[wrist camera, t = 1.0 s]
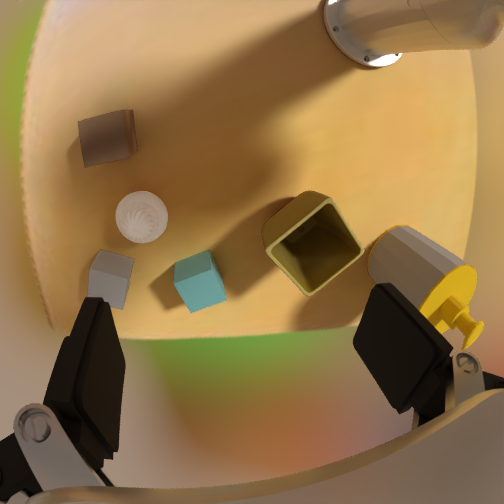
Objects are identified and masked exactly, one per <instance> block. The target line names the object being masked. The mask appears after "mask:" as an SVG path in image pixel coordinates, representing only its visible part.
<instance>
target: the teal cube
mask: <svg viewBox="0 0 504 504" xmlns="http://www.w3.org/2000/svg"><path fill="white" fill-rule="evenodd" d="M173 284H174V286H175V288H176V289H177V291H178V293H179V294H180V296H181V298H182V299H183V301H184V303H185V304H186V306H187V308H188V309H189V311H190V312H191V313H192V312H195V311H198V310H201V309H204V308H206V307H209V306H212V305H215V304H217V303H220V302H223V301H226V300H227V299H226V294H225V288H224V283H223V278H222V276H221V274H220V272H219V270H218V268H217V266H216V263H215V261H214V259H213V257H212V255H211V253H210V250H207V251H204V252H202V253H199V254H197V255H194V256H191V257H189V258H186V259H184V260H181V261H179V262H176V263H175V268H174V282H173Z"/></svg>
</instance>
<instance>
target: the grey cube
mask: <svg viewBox="0 0 504 504" xmlns="http://www.w3.org/2000/svg"><path fill="white" fill-rule="evenodd" d="M133 262H134V258H130V257H126V256H122V255H119V254H115V253H111V252H108V251H104V250H101V249H100V250H99V252H98V254H97V256H96V258H95V259H94V261H93V263H92V265H91V267H90V270H89V282H88V297H102V298H103V299H104V302H109V304H110V307H114V308H117V309H121V310H123V307H124V303H125V299H126V296H127V292H128V288H129V283H130V277H131V272H132V267H133Z"/></svg>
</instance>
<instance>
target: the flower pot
mask: <svg viewBox="0 0 504 504" xmlns="http://www.w3.org/2000/svg"><path fill="white" fill-rule="evenodd" d="M300 228H303V230H302V231H299V229H300ZM262 238H263V243H264V248H265V252H266V254H267V255H268V256H269V257H270V258H271V259H272V261H273V262H274V263H275V264H276V265H277V266H278V267H279V268H280V269H281V270H282V271H283V272H284V273H285V274H286V275H287V276H288V277H289V278H290V279H291V280H292V281H293V283H294V284H295V285H296V286H297V287H298V288H299V289H300V290H301V291H302V292H303V294H305V295H306V296H308V297H309V296H311V295H313V294H314V293H316V292H317V291H318V290H320V289H321V288H322V287H323V286H325V285H326V284H327V283H328V282H330V281H331V280H332V279H333V278H334V277H336V276H337V275H338V274H339V273H341V272H342V271H343V270H344V269H346V268H347V267H348V266H350V265H351V264H352V263H353V262H355V261H356V260H357V259H358V258H359V257H360V256H361V255H362V254H363V253H364V248H363V246H362V245H361V243H360V242H359V240H358V238H357V237H356V235H355V234H354V232H353V231H352V229H351V228H350V226H349V224H348V223H347V221H346V219H345V218H344V216H343V214H342V213H341V211H340V210H339V208H338V206H337V205H336V203H335V201H334V200H333V199H332V198H330V197H328V196H326V195H323V194H321V193H318V192H315V191H305V192H303V193H301V194H299V195H298V196H297V197H296V198H294V199H293V200H292V201H291V202H289V203H288V204H287V205H286V206H285V207H283V208H282V209H281V210H280V211H278V212H277V213H276V214H275V215H273V216H272V217H271V218H270V219H269V220H268V221H267V222H266V223H265V224H264V226H263V228H262Z"/></svg>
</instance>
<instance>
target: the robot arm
mask: <svg viewBox="0 0 504 504" xmlns="http://www.w3.org/2000/svg"><path fill="white" fill-rule="evenodd" d="M323 15H324V23H325V26H326V29H327V31H328V33H329V35H330V37H331V39H332V40H333V42H334V43H335V45H336V46H337V47H338V48H339V49H340V50H341V51H342V52H343V53H344V54H345V55H347V56H348V57H349V58H351V59H352V60H354V61H355V62H357V63H360V64H362V65H365V66H369V67H384V66H388V65H391V64H393V63H394V62H396V61H397V60H398V59H399V58H400V57H401V55H402V53H408V52H419V51H433V50H475V49H482V48H485V47H488V46H490V45H491V44H492V43H493V42H494V41H495V40H496V39H497V38H498V36H499V34H500V33H501V31H502V29H503V27H504V0H326V3H325V5H324V12H323ZM353 345H354V348H355V350H356V351H357V353H358V354H359V356H360V357H361V359H362V360H363V361H364V363H365V365H366V366H367V368H368V370H369V371H370V373H371V374H372V376H373V377H374V379H375V380H376V382H377V384H378V385H379V387H380V388H381V390H382V392H383V393H384V395H385V396H386V398H387V400H388V401H389V403H390V404H391V406H392V407H393V408H395V409H396V410H397V412H398V413H399V414H401V413H403V412H406V411H408V410H409V409H410V408H411V407H413V408H414V413H413V421H412V428H411V431H410V432H408V433H406V434H404V435H402V436H399V437H397V438H395V439H393V440H391V441H388V442H386V443H384V444H382V445H379V446H377V447H374V448H372V449H369V450H367V451H365V452H362V453H359V454H357V455H354V456H351V457H348V458H345V459H342V460H340V461H336V462H333V463H330V464H327V465H324V466H320V467H317V468H313V469H310V470H306V471H302V472H298V473H294V474H289V475H285V476H281V477H275V478H270V479H265V480H260V481H254V482H247V483H240V484H233V485H223V486H212V487H199V488H198V487H197V488H176V489H175V488H170V489H159V488H156V489H155V488H127V487H126V488H125V487H117V486H116V485H115V484H114V483H113V482H112V480H111V479H110V478H109V477H108V476H107V474H106V473H105V472H104V471H103V469H102V467H103V464H104V459H112V460H113V452H118V448H119V430H120V415H121V403H122V393H123V384H124V374H125V359H124V355H123V352H122V349H121V345H120V342H119V338H118V335H117V331H116V328H115V324H114V320H113V316H112V312H111V308H110V304H109V302H104V299H103V298H102V297H86V298H85V299H84V301H83V304H82V306H81V308H80V311H79V313H78V316H77V318H76V321H75V323H74V326H73V328H72V331H71V334H70V336H67V337H65V338H64V340H63V343H62V345H61V348H60V350H59V353H58V356H57V359H56V362H55V365H54V368H53V371H52V374H51V377H50V381H49V384H48V387H47V390H46V394H45V397H44V401H43V405H42V404H39V403H32V404H29V405H26V406H24V407H23V408H22V409H21V410H20V411H19V412H18V413H17V414H16V417H15V419H14V427H13V429H14V433H13V434H11V435H10V436H8V437H6V438H5V439H3V440H1V441H0V504H504V378H503V377H499V376H496V375H493V374H490V373H487V372H484V371H482V367H481V364H480V362H479V360H478V359H477V358H476V357H475V356H474V355H473V354H472V353H470V352H468V351H465V350H457V351H456V352H455V353H454V354H453V356H452V357H450V356H449V354H450V353H451V351H452V350H453V347H452V346H451V344H450V343H449V342H448V341H447V340H446V339H445V338H444V337H443V336H442V335H441V333H440V332H439V331H438V330H437V329H436V328H435V327H434V326H433V325H432V324H431V323H430V322H429V321H428V320H427V319H426V317H425V316H424V315H423V314H422V313H421V312H420V311H419V310H418V309H417V308H416V307H415V306H414V305H413V304H412V303H411V302H410V301H409V300H408V299H407V298H406V297H405V296H404V295H403V294H402V293H401V292H400V291H399V290H398V289H397V288H396V287H395V286H394V285H393V284H392V283H389V282H388V283H379V284H376V285H375V287H374V288H373V289H372V290H371V293H370V296H369V299H368V302H367V304H366V307H365V310H364V313H363V315H362V318H361V321H360V323H359V326H358V328H357V331H356V333H355V336H354V338H353Z"/></svg>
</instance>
